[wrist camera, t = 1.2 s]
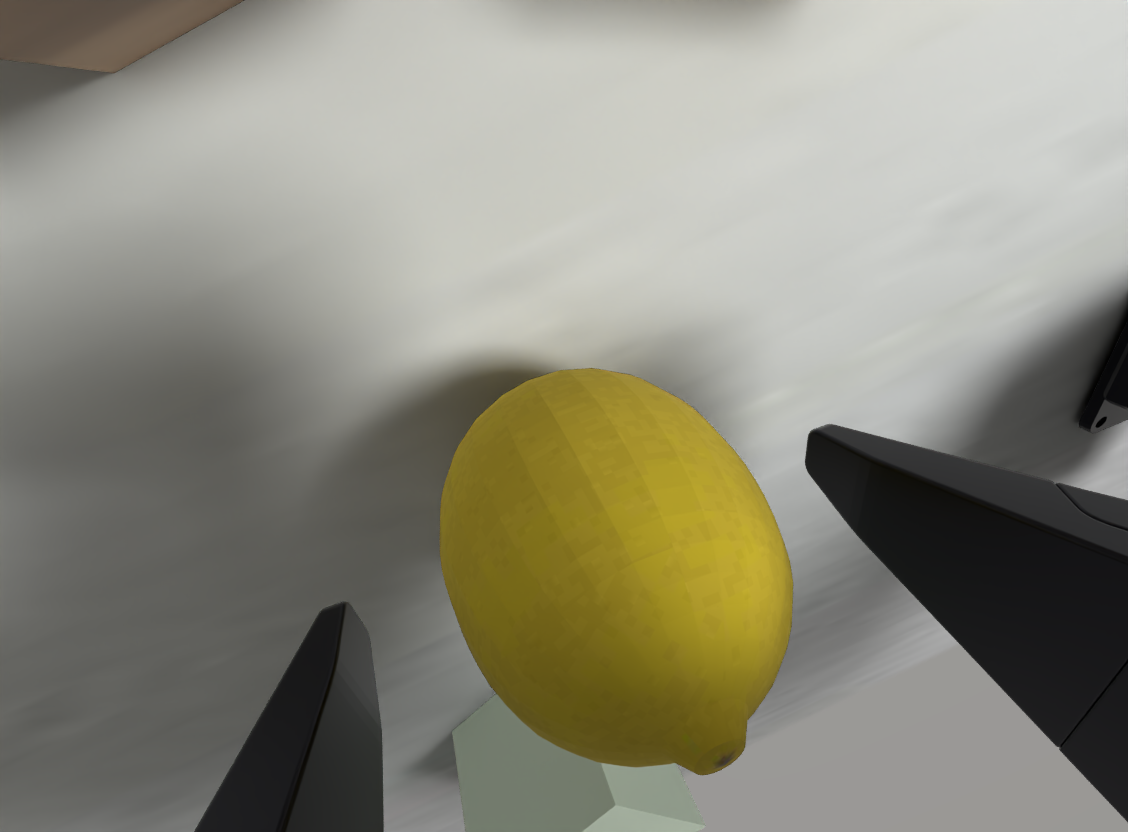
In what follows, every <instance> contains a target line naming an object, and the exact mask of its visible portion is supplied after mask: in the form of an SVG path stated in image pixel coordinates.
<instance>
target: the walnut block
mask: <svg viewBox="0 0 1128 832" xmlns="http://www.w3.org/2000/svg"><path fill="white" fill-rule="evenodd" d="M242 1H244V0H0V59H2V60H11V61H19V62H27V63H35V64H44V65H52V66H60V67H68V68H77V69H85V70H93V71H101V72H110V73H115V72H117V71H119V70H121V69H122V68H124V67H126V66H128V65H130V64H131V63H133V62H135V61H137V60H139V59H140V58H142V57H144V56H146V55H148V54H149V53H151V52H153V51H155V50H156V49H158V48H160V47H162V46H164V45H165V44H167V43H169V42H171V41H173V40H174V39H176V38H178V37H180V36H182V35H183V34H185V33H187V32H189V31H190V30H192V29H194V28H196V27H198V26H199V25H201V24H203V23H205V22H207V21H208V20H210V19H212V18H214V17H216V16H217V15H219V14H221V13H223V12H224V11H226V10H228V9H230V8H232V7H233V6H235V5H237V4H239V3H241V2H242Z"/></svg>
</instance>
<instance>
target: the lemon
mask: <svg viewBox="0 0 1128 832" xmlns="http://www.w3.org/2000/svg"><path fill="white" fill-rule="evenodd" d="M440 558H441V566H442V572H443V576H444V580H445V585H446V588H447V591H448V594H449V597H450V600H451V603H452V606H453V609H454V611H455V614H456V617H457V620H458V623H459V625H460V628H461V631H462V633H463V636H464V638H465V640H466V643H467V645H468V647H469V649H470V651H471V653H472V655H473V657H474V659H475V661H476V663H477V665H478V667H479V668H480V670H481V672H482V673H483V675H484V676H485V678H486V680H487V681H488V683H489V684H490V686H491V687H492V689H493V690H494V691H495V692H496V694H497V695H498V696H499V697H500V698H501V700H502V701H503V702H504V703H505V705H506V706H507V707H508V708H509V709H510V710H511V711H512V712H513V713H514V714H515V715H516V716H517V717H518V718H519V719H520V720H521V721H522V722H523V723H524V724H525V725H527V726H528V727H529V728H530V729H531V730H532V731H534V732H535V733H536V734H537V735H538V736H540V737H542V738H543V739H545V740H547V741H549V742H551V743H552V744H554V745H556V746H558V747H560V748H562V749H564V750H567V751H569V752H571V753H573V754H576V755H578V756H581V757H584V758H587V759H590V760H593V761H595V762H599V763H605V764H611V765H618V766H626V767H635V768H637V767H648V766H658V765H667V764H673V763H677V764H678V765H680V766H682V767H684V768H686V769H688V770H690V771H692V772H694V773H696V774H698V775H708V774H712V773H715V772H717V771H720V770H722V769H723V768H725V767H727V766H728V765H730V764H731V763H733V762H734V761H735V760H736V759H737V758H738V757H739V756H740V755H741V754H742V752H743V751H744V748H745V742H746V731H747V720H748V719H749V718H750V717H751V716H752V715H753V714H754V712H755V711H756V709H757V708H758V707H759V705H760V704H761V702H762V701H763V699H764V698H765V696H766V695H767V693H768V692H769V690H770V689H771V687H772V686H773V683H774V681H775V678H776V676H777V673H778V671H779V668H780V666H781V663H782V660H783V657H784V655H785V652H786V649H787V645H788V641H789V636H790V631H791V627H792V604H793V579H792V572H791V565H790V560H789V557H788V554H787V551H786V548H785V544H784V541H783V539H782V536H781V533H780V531H779V528H778V525H777V523H776V520H775V517H774V515H773V513H772V511H771V509H770V507H769V505H768V502H767V500H766V498H765V496H764V494H763V493H762V491H761V489H760V487H759V486H758V484H757V482H756V480H755V479H754V477H753V476H752V474H751V473H750V471H749V470H748V468H747V466H746V465H745V463H744V462H743V461H742V460H741V458H740V457H739V456H738V454H737V453H736V452H735V451H734V449H733V448H732V447H731V446H730V445H729V444H728V443H727V442H726V441H725V440H724V439H723V438H722V437H721V436H720V434H719V433H718V432H717V431H716V430H715V429H714V428H713V427H712V426H711V425H710V424H709V423H708V422H707V421H706V420H705V418H704V417H703V416H701V415H700V414H699V413H698V412H697V411H696V410H695V409H693V408H692V407H691V406H690V405H688V404H687V403H685V402H684V401H682V400H681V399H679V398H678V397H676V396H674V395H672V394H670V393H668V392H666V391H664V390H662V389H660V388H658V387H656V386H654V385H652V384H650V383H649V382H647V381H645V380H643V379H641V378H638V377H635V376H632V375H628V374H623V373H617V372H612V371H606V370H601V369H594V368H587V369H573V370H560V371H556V372H553V373H550V374H546V375H543V376H540V377H537V378H534V379H531V380H528V381H526V382H524V383H522V384H521V385H519V386H517V387H515V388H514V389H512V390H510V391H509V392H507V393H505V394H503V395H502V396H501V397H500V398H498V399H497V400H496V401H495V402H494V403H493V404H492V405H491V406H490V407H489V408H488V409H486V410H485V411H484V412H483V413H482V414H481V415H480V416H479V417H478V418H477V419H476V420H475V421H474V423H473V424H472V426H471V427H470V429H469V430H468V432H467V433H466V435H465V436H464V438H463V439H462V441H461V442H460V444H459V446H458V448H457V450H456V451H455V454H454V457H453V460H452V462H451V465H450V468H449V471H448V474H447V477H446V480H445V484H444V488H443V492H442V497H441V507H440Z"/></svg>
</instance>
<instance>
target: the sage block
mask: <svg viewBox="0 0 1128 832" xmlns="http://www.w3.org/2000/svg"><path fill="white" fill-rule="evenodd" d="M452 736H453V743H454V750H455V758H456V765H457V772H458V780H459V787H460V795H461V802H462V809H463V817H464V824H465V831H466V832H698V831H700V830H701V829H702V828H704V827H705V826H706V825H705V823H704V821H703V819H702V817H701V815H700V813H699V810H698V809H697V806H696V804H695V802H694V800H693V798H692V795H691V793H690V791H689V789H688V787H687V785H686V783H685V781H684V778H683V776H682V774H681V772H680V770H679V768H678V766H677V764H676V763H673V764H667V765H658V766H648V767H637V768H635V767H626V766H618V765H611V764H605V763H599V762H595V761H593V760H590V759H587V758H584V757H581V756H578V755H576V754H573V753H571V752H569V751H567V750H564V749H562V748H560V747H558V746H556V745H554V744H552V743H551V742H549V741H547V740H545V739H543V738H542V737H540V736H538V735H537V734H536V733H535V732H534V731H532V730H531V729H530V728H529V727H528V726H527V725H525V724H524V723H523V722H522V721H521V720H520V719H519V718H518V717H517V716H516V715H515V714H514V713H513V712H512V711H511V710H510V709H509V708H508V707H507V706H506V705H505V703H504V702H503V701H502V700H501V698H500V697H499V696H498V695H497V694H495V695H494V696H493V697H492V698H491V699H489V700H488V701H487V702H486V703H485V704H484V705H482V706H481V707H480V708H479V709H478V710H477V711H475V712H474V713H473V714H472V715H471V716H469V717H468V718H467V719H466V720H465V721H464V722H462V723H461V724H460V725H459V726H458V727H457V728H455V729H454V730H453V731H452Z"/></svg>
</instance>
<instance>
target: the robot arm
mask: <svg viewBox="0 0 1128 832" xmlns="http://www.w3.org/2000/svg"><path fill="white" fill-rule="evenodd" d="M1125 420H1128V321H1127V323H1126V325H1125V327H1124V329H1123V331H1122V333H1121V335H1120V338H1119V340H1118V342H1117V344H1116V346H1115V348H1114V350H1113V352H1112V354H1111V356H1110V359H1109V361H1108V363H1107V365H1106V367H1105V369H1104V371H1103V373H1102V375H1101V378H1100V380H1099V382H1098V384H1097V386H1096V388H1095V390H1094V392H1093V394H1092V396H1091V399H1090V401H1089V403H1088V405H1087V407H1086V409H1085V411H1084V413H1083V415H1082V418H1081V420H1080V422H1079V427H1080V428H1082V429H1084V430H1087V431H1089V432H1091V433H1096V432H1099V431H1101V430H1104V429H1106V428H1108V427H1111V426H1113V425H1116V424H1118V423H1121V422H1123V421H1125ZM805 466H806V469H807V471H808V473H809V475H810V476H811V477H812V479H813V480H814V481H815V482H816V484H817V485H818V486H819V488H820V489H821V490H822V491H823V493H824V494H825V495H826V497H827V498H828V499H829V501H830V502H831V503H832V504H833V506H834V507H835V508H836V510H837V511H838V512H839V513H840V515H841V516H842V517H843V519H844V520H845V521H846V522H847V524H848V525H849V526H850V527H851V529H852V530H853V531H854V532H855V534H856V535H857V536H858V537H859V538H860V539H861V540H862V541H863V542H864V544H865V545H866V546H867V547H868V548H869V549H870V550H871V551H872V552H873V553H874V554H875V555H876V556H877V557H878V558H879V559H880V560H881V562H882V563H883V564H884V565H885V566H886V567H887V568H888V569H889V570H890V571H891V572H892V573H893V574H894V575H895V576H896V577H897V578H898V579H899V581H900V582H901V583H902V584H903V585H904V586H905V587H906V588H907V589H908V590H909V591H910V592H911V593H912V594H913V595H914V596H915V597H916V599H917V600H918V601H919V602H920V603H921V604H922V605H923V606H924V607H925V608H926V609H927V610H928V611H929V612H930V613H931V614H932V615H933V616H934V618H935V619H936V620H937V621H938V622H939V623H940V624H941V625H942V626H943V627H944V628H945V629H946V630H947V631H948V632H949V633H950V634H951V635H952V637H953V638H954V639H955V640H956V641H957V642H958V643H959V644H960V645H961V646H962V647H963V648H964V649H965V650H966V651H967V652H968V653H969V655H971V657H972V658H973V659H974V660H975V661H976V662H977V663H978V664H979V665H980V666H981V667H982V668H983V669H984V670H985V671H986V672H987V674H988V675H989V676H990V677H991V678H992V679H993V680H994V681H995V682H996V683H997V684H998V685H999V686H1000V687H1001V688H1002V689H1003V690H1004V692H1005V693H1006V694H1007V695H1008V696H1009V697H1010V698H1011V699H1012V700H1013V701H1014V702H1015V703H1016V704H1017V705H1018V706H1019V707H1020V708H1021V709H1022V711H1023V712H1024V713H1025V714H1026V715H1027V716H1028V717H1029V718H1030V719H1031V720H1032V721H1033V722H1034V723H1035V724H1036V725H1037V726H1038V727H1039V728H1040V730H1041V731H1042V732H1043V733H1044V734H1045V735H1046V736H1047V737H1048V738H1049V739H1050V740H1051V741H1052V742H1053V743H1054V744H1055V745H1056V746H1057V747H1059V750H1060V751H1061V752H1062V753H1063V754H1064V755H1065V756H1066V757H1067V759H1068V760H1069V761H1070V762H1071V763H1072V764H1073V765H1074V766H1075V767H1076V768H1077V769H1078V770H1079V771H1080V772H1081V773H1082V774H1083V775H1084V776H1085V778H1086V779H1087V780H1088V781H1089V782H1090V783H1091V784H1092V785H1093V786H1094V787H1095V788H1096V789H1097V790H1098V791H1099V792H1100V793H1101V794H1102V795H1103V797H1105V799H1106V800H1107V801H1108V802H1109V803H1110V804H1111V805H1112V806H1113V807H1114V808H1115V809H1116V810H1117V811H1118V812H1119V813H1120V815H1121V816H1123V818H1125V820H1126V821H1127V822H1128V500H1125V499H1121V498H1116V497H1112V496H1108V495H1104V494H1100V493H1096V492H1092V491H1088V490H1084V489H1080V488H1076V487H1073V486H1069V485H1065V484H1061V483H1056V484H1055V483H1054V482H1052V481H1049V480H1045V479H1042V478H1038V477H1034V476H1030V475H1026V474H1022V473H1018V472H1015V471H1011V470H1007V469H1003V468H999V467H995V466H991V465H988V464H984V463H980V462H976V461H972V460H968V459H965V458H961V457H957V456H953V455H949V454H945V453H941V452H938V451H934V450H930V449H926V448H922V447H918V446H914V445H911V444H907V443H903V442H899V441H895V440H891V439H887V438H884V437H880V436H876V435H872V434H868V433H864V432H860V431H857V430H853V429H849V428H845V427H841V426H837V425H833V424H827V425H824V426H821V427H818V428H816V429H813V430H811V431H810V433H809V434H808V440H807V448H806V457H805ZM194 832H384V824H383V758H382V729H381V720H380V711H379V704H378V696H377V689H376V681H375V673H374V666H373V658H372V651H371V643H370V638H369V635H368V632H367V629H366V628H365V626H364V624H363V623H362V621H361V620H360V618H359V617H358V615H357V614H356V612H355V610H354V609H353V607H352V606H351V605H350V604H349V603H348V602H346V601H345V602H340V603H337V604H335V605H332V606H329V607H327V608H324V609H323V610H322V611H321V612H320V613H319V614H318V616H317V618H316V619H315V621H314V623H313V625H312V626H311V628H310V630H309V632H308V633H307V635H306V637H305V639H304V640H303V642H302V644H301V646H300V647H299V649H298V651H297V653H296V654H295V656H294V658H293V660H292V661H291V663H290V665H289V667H288V668H287V670H286V672H285V674H284V675H283V677H282V679H281V681H280V682H279V684H278V686H277V688H276V689H275V691H274V693H273V695H272V696H271V698H270V700H269V702H268V703H267V705H266V707H265V709H264V710H263V712H262V714H261V716H260V717H259V719H258V721H257V723H256V724H255V726H254V728H253V730H252V731H251V733H250V735H249V737H248V738H247V740H246V742H245V744H244V745H243V747H242V749H241V751H240V752H239V754H238V756H237V758H236V759H235V761H234V763H233V765H232V766H231V768H230V770H229V772H228V773H227V775H226V777H225V779H224V780H223V782H222V784H221V786H220V787H219V789H218V791H217V793H216V794H215V796H214V798H213V800H212V801H211V803H210V805H209V807H208V808H207V810H206V812H205V814H204V815H203V817H202V819H201V821H200V822H199V824H198V826H197V828H196V829H195V831H194Z"/></svg>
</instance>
